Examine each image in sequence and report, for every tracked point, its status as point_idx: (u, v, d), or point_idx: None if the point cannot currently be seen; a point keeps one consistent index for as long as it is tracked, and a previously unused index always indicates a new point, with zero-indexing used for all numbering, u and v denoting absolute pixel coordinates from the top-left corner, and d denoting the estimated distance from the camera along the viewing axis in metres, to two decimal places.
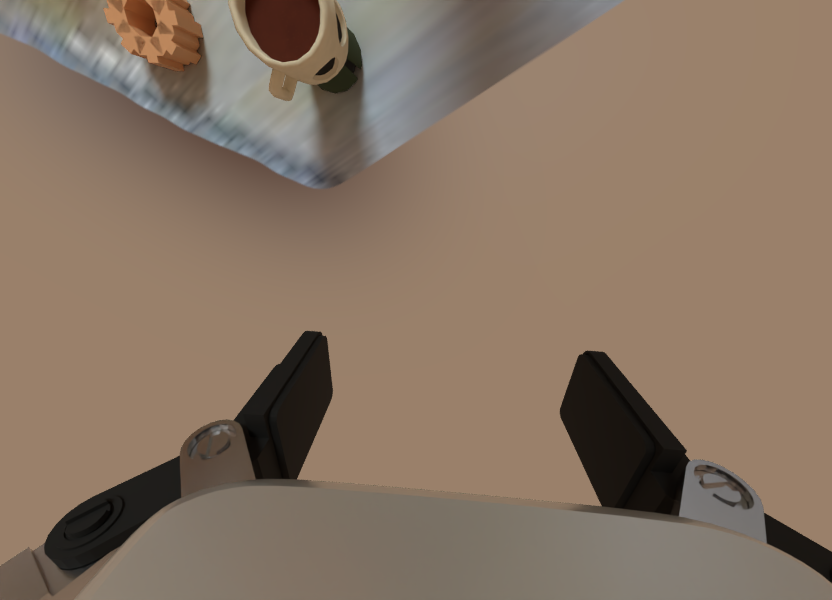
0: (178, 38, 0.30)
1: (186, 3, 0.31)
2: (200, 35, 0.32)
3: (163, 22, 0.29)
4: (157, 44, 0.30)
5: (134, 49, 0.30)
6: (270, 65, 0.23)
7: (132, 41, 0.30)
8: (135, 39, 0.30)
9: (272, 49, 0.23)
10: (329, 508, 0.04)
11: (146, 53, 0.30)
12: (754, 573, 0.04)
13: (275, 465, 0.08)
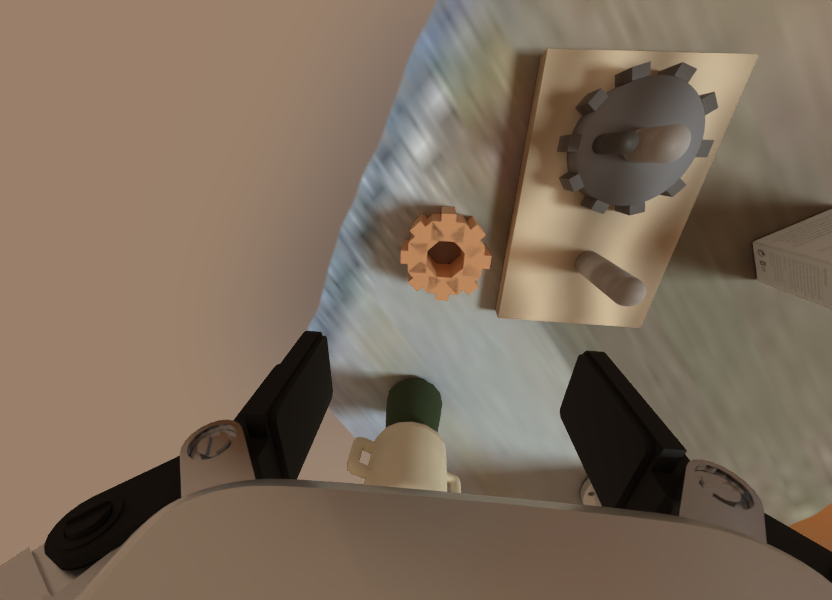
0: None
1: None
2: None
3: (438, 283, 0.25)
4: (418, 269, 0.24)
5: (414, 236, 0.23)
6: None
7: (422, 238, 0.23)
8: (424, 243, 0.23)
9: None
10: (329, 508, 0.04)
11: (410, 251, 0.24)
12: (754, 573, 0.04)
13: (275, 465, 0.08)
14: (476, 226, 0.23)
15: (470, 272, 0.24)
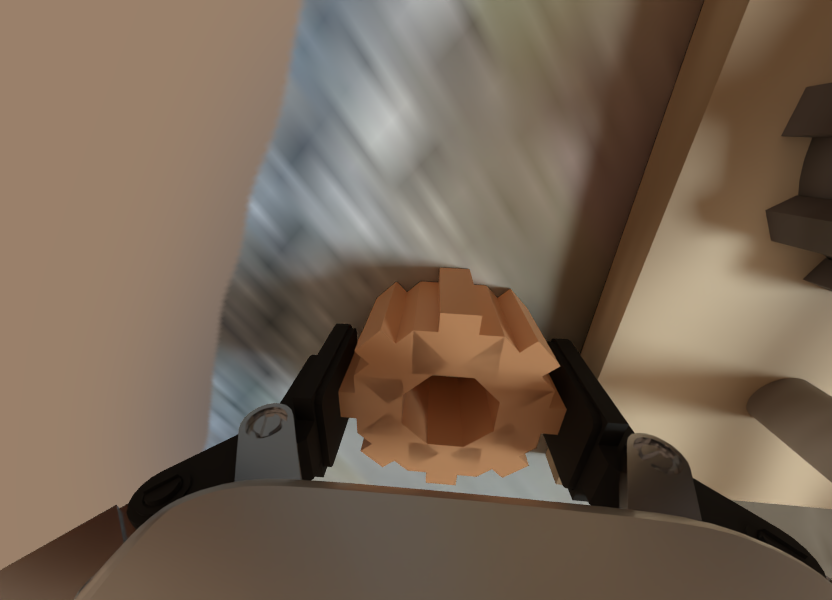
0: None
1: None
2: None
3: (433, 454, 0.10)
4: (383, 429, 0.10)
5: (368, 363, 0.09)
6: None
7: (388, 368, 0.09)
8: (394, 378, 0.09)
9: None
10: (329, 508, 0.04)
11: (359, 393, 0.09)
12: (754, 573, 0.04)
13: (318, 447, 0.08)
14: (536, 345, 0.08)
15: (511, 439, 0.10)
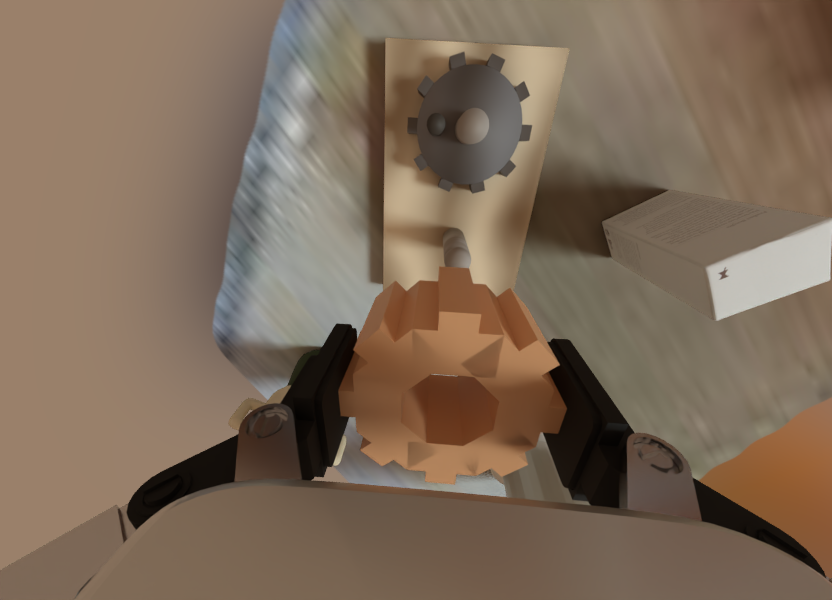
0: None
1: None
2: None
3: (432, 453, 0.10)
4: (383, 428, 0.10)
5: (368, 361, 0.09)
6: None
7: (387, 367, 0.09)
8: (393, 377, 0.09)
9: None
10: (329, 508, 0.04)
11: (358, 392, 0.09)
12: (754, 573, 0.04)
13: (318, 447, 0.08)
14: (535, 344, 0.08)
15: (510, 438, 0.10)
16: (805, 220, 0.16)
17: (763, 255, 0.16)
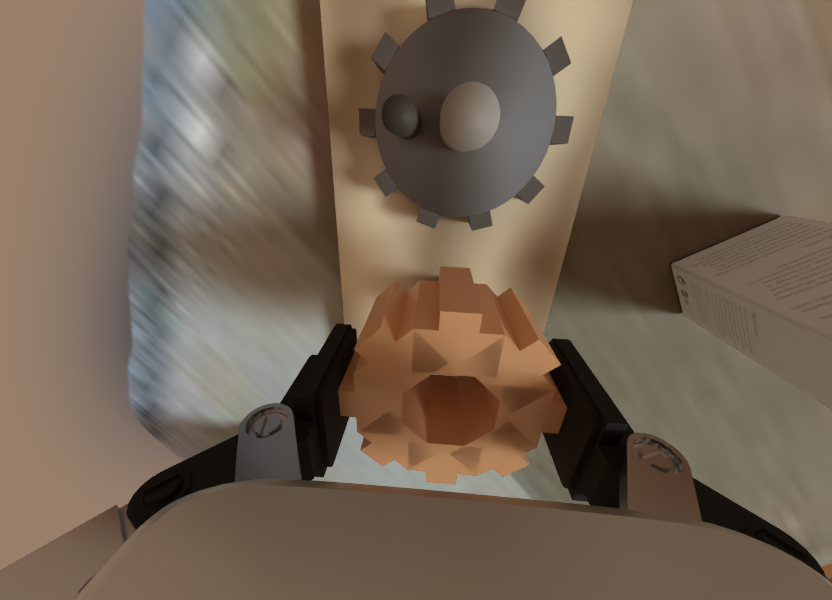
0: None
1: None
2: None
3: (433, 453, 0.10)
4: (383, 428, 0.10)
5: (368, 361, 0.09)
6: None
7: (388, 367, 0.09)
8: (394, 377, 0.09)
9: None
10: (329, 508, 0.04)
11: (359, 392, 0.09)
12: (754, 573, 0.04)
13: (318, 447, 0.08)
14: (536, 343, 0.08)
15: (511, 438, 0.10)
16: None
17: None
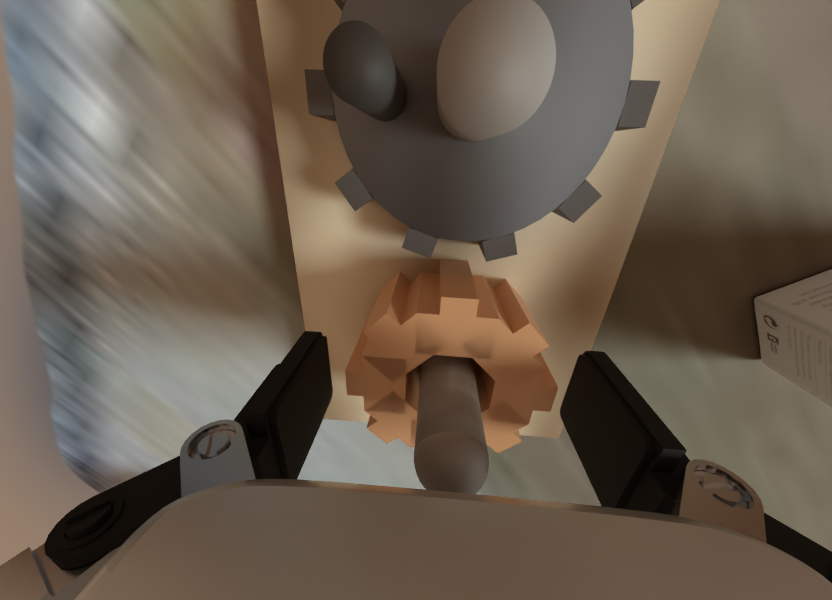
0: None
1: None
2: None
3: None
4: (388, 406, 0.11)
5: (375, 344, 0.10)
6: None
7: (393, 349, 0.10)
8: (398, 358, 0.10)
9: None
10: (329, 508, 0.04)
11: (366, 372, 0.10)
12: (754, 573, 0.04)
13: (276, 465, 0.08)
14: (527, 327, 0.09)
15: (505, 416, 0.11)
16: None
17: None
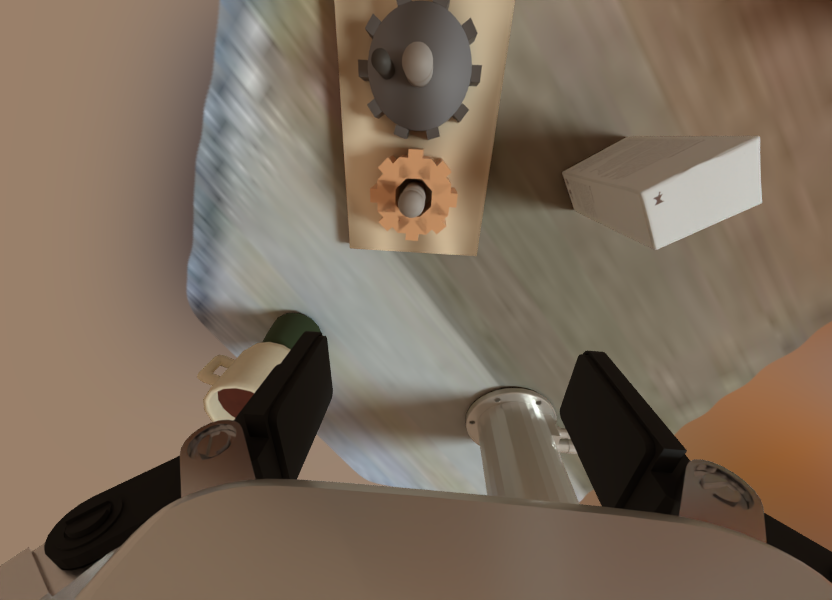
0: None
1: None
2: None
3: (408, 223, 0.26)
4: (388, 208, 0.25)
5: (383, 174, 0.24)
6: None
7: (390, 175, 0.24)
8: (392, 180, 0.24)
9: (225, 390, 0.27)
10: (329, 508, 0.04)
11: (379, 189, 0.24)
12: (754, 573, 0.04)
13: (276, 465, 0.08)
14: (442, 162, 0.23)
15: (438, 211, 0.25)
16: (735, 141, 0.16)
17: (695, 178, 0.17)
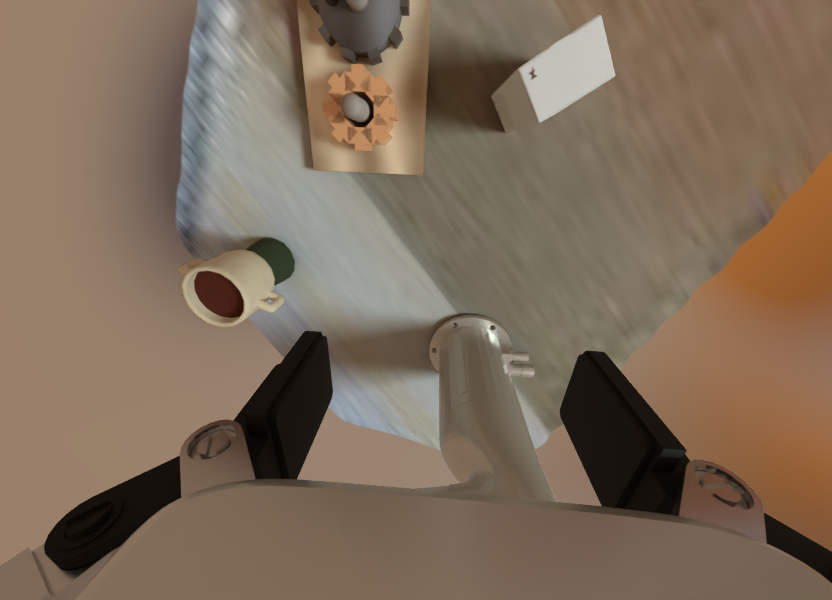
0: None
1: (384, 144, 0.33)
2: None
3: (356, 134, 0.30)
4: (338, 119, 0.30)
5: (332, 87, 0.29)
6: (181, 286, 0.31)
7: (338, 89, 0.29)
8: (340, 93, 0.29)
9: (200, 280, 0.31)
10: (329, 508, 0.04)
11: (329, 102, 0.29)
12: (754, 573, 0.04)
13: (276, 465, 0.08)
14: (379, 75, 0.28)
15: (380, 121, 0.30)
16: None
17: (558, 53, 0.21)
